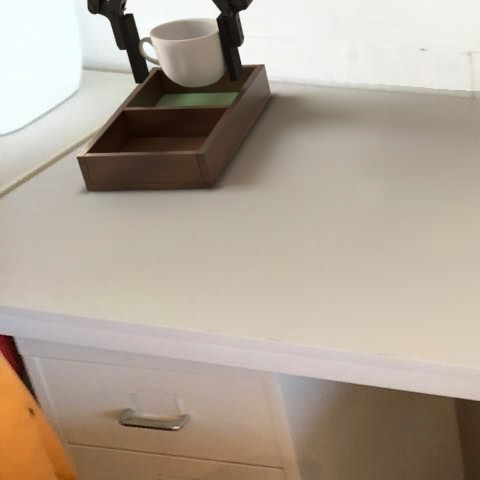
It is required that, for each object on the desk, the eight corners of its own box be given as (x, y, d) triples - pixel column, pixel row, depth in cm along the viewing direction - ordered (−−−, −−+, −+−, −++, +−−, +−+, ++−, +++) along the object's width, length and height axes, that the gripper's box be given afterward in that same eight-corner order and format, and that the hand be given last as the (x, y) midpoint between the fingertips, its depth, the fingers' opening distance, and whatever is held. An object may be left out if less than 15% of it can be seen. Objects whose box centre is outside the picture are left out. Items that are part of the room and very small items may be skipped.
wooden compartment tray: (87, 191, 133) (75, 156, 130) (161, 98, 152) (152, 66, 149) (212, 188, 132) (203, 153, 130) (271, 95, 151) (264, 63, 148)
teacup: (245, 68, 146) (234, 17, 142) (220, 93, 140) (207, 41, 136) (161, 67, 147) (148, 17, 143) (133, 92, 141) (118, 40, 138)
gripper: (252, -165, 131) (297, 63, 145) (34, -157, 132) (101, 68, 147) (233, -147, 125) (282, 88, 140) (5, -140, 126) (78, 93, 141)
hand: (189, 78), depth 143 cm, fingers closed on teacup, 10 cm apart
